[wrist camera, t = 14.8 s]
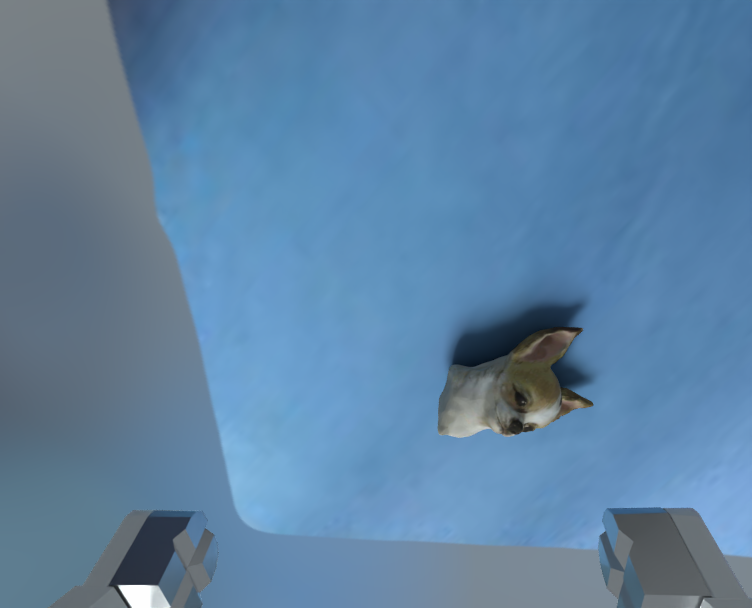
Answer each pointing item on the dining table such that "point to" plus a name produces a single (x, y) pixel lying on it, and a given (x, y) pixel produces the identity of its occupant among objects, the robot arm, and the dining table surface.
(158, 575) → the robot arm
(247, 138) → the dining table surface
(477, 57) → the dining table surface
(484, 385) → the ceramic sculpture
